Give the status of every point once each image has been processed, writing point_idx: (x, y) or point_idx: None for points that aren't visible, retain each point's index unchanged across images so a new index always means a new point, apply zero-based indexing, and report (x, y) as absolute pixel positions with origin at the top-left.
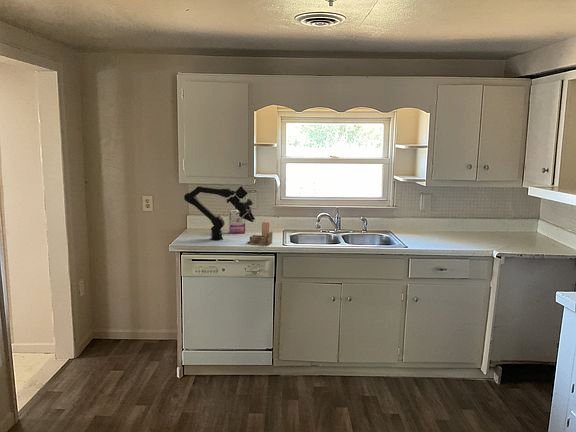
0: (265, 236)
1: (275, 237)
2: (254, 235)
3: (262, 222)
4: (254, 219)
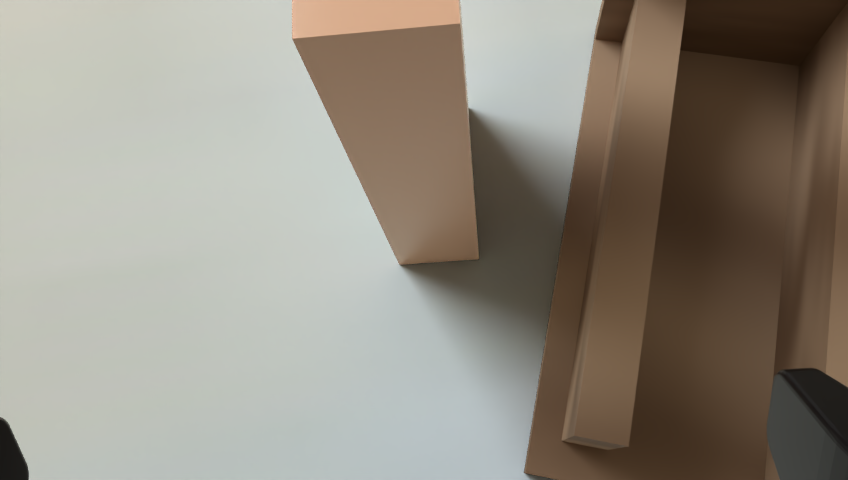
0: (674, 86)
1: (42, 54)
2: (635, 387)
3: (458, 13)
4: (14, 449)
